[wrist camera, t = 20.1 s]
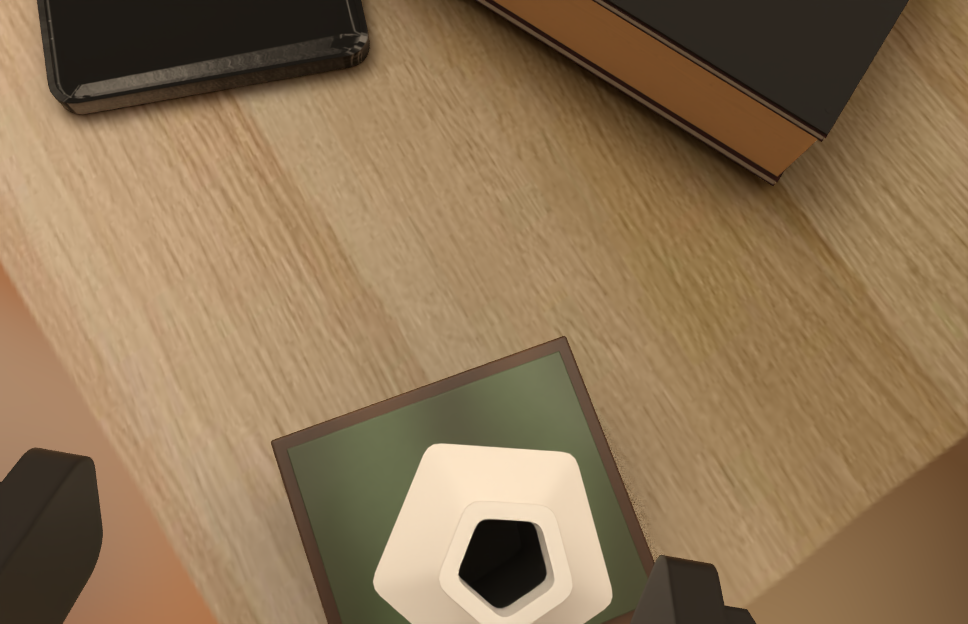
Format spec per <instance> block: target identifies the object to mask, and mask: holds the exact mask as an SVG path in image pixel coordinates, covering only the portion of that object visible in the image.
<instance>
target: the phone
mask: <svg viewBox="0 0 968 624" xmlns="http://www.w3.org/2000/svg"><path fill="white" fill-rule="evenodd" d="M37 4H38V12H39V19H40V27H41V34H42V42H43V50H44V57H45V65H46V72H47V80H48V86H49V89H50V92H51V93H52V95H53V96H54V97H55V98H56V99H57V100H58V101H59V102H60V103H61V104H62V105H63V107H64V108H66V109H67V110H69V111H70V112H73V113H77V114H88V113H94V112H99V111H105V110H111V109H116V108H122V107H128V106H133V105H139V104H144V103H150V102H156V101H161V100H167V99H173V98H178V97H184V96H190V95H195V94H201V93H207V92H212V91H218V90H224V89H229V88H235V87H241V86H246V85H252V84H257V83H263V82H269V81H274V80H280V79H286V78H291V77H297V76H303V75H308V74H314V73H320V72H325V71H331V70H337V69H342V68H348V67H352V66H355V65H358V64H359V63H361V62H362V61H363V60H364V59H365V58H366V56H367V55H368V52H369V49H370V47H369V36H368V30H367V25H366V20H365V16H364V11H363V7H362V2H361V0H37Z"/></svg>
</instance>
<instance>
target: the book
mask: <svg viewBox="0 0 968 624" xmlns="http://www.w3.org/2000/svg"><path fill="white" fill-rule="evenodd" d="M475 1H476V2H478V3H480V4H481V5H483V6H485V7H486V8H488V9H489V10H491V11H493V12H494V13H496V14H497V15H499V16H501V17H502V18H504V19H505V20H507V21H509V22H510V23H512V24H513V25H515V26H517V27H518V28H520V29H521V30H523V31H525V32H526V33H528V34H530V35H531V36H533V37H534V38H536V39H538V40H539V41H541V42H542V43H544V44H546V45H547V46H549V47H550V48H552V49H554V50H555V51H557V52H558V53H560V54H562V55H563V56H565V57H566V58H568V59H570V60H571V61H573V62H574V63H576V64H578V65H579V66H581V67H583V68H584V69H586V70H587V71H589V72H591V73H592V74H594V75H595V76H597V77H599V78H600V79H602V80H603V81H605V82H607V83H608V84H610V85H611V86H613V87H615V88H616V89H618V90H619V91H621V92H623V93H624V94H626V95H628V96H629V97H631V98H632V99H634V100H636V101H637V102H639V103H640V104H642V105H644V106H645V107H647V108H648V109H650V110H652V111H653V112H655V113H656V114H658V115H660V116H661V117H663V118H664V119H666V120H668V121H669V122H671V123H672V124H674V125H676V126H677V127H679V128H681V129H682V130H684V131H685V132H687V133H689V134H690V135H692V136H693V137H695V138H697V139H698V140H700V141H701V142H703V143H705V144H706V145H708V146H709V147H711V148H713V149H714V150H716V151H717V152H719V153H721V154H722V155H724V156H726V157H727V158H729V159H730V160H732V161H734V162H735V163H737V164H738V165H740V166H742V167H743V168H745V169H746V170H748V171H750V172H751V173H753V174H754V175H756V176H758V177H759V178H761V179H762V180H764V181H766V182H767V183H769V184H770V185H772V186H774V184H775V182H778V180H779V179H780V177H781V175H782V174H783V172H784V170H785V169H786V168H787V167H788V166H789V165H791V164H792V163H793V162H794V161H795V160H796V159H797V158H798V157H799V156H800V155H801V154H802V153H803V152H804V151H806V150H807V149H808V148H809V147H810V146H811V145H812V144H813V143H814V142H815V141H816V140H817V139H818V140H820V141H821V142H822V141H823V139H824V138H826V137H827V135H828V133H829V132H830V130H831V129H832V127H833V125H834V124H835V122H836V120H837V119H838V117H839V115H840V114H841V112H842V110H843V109H844V107H845V105H846V104H847V102H848V100H849V99H850V97H851V95H852V94H853V92H854V90H855V89H856V87H857V85H858V84H859V82H860V80H861V79H862V77H863V75H864V74H865V72H866V71H867V69H868V67H869V66H870V64H871V62H872V61H873V59H874V57H875V56H876V54H877V52H878V51H879V49H880V47H881V46H882V44H883V42H884V41H885V39H886V37H887V36H888V34H889V32H890V31H891V29H892V27H893V26H894V24H895V22H896V21H897V19H898V17H899V16H900V14H901V13H902V11H903V9H904V8H905V6H906V4H907V3H908V1H909V0H475Z"/></svg>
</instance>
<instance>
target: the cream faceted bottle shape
mask: <svg viewBox="0 0 968 624" xmlns="http://www.w3.org/2000/svg"><path fill="white" fill-rule="evenodd" d="M373 584H374V588H375V590H376V591H377V593H378V594H379V595H380V596H381V597H382V598H383V599H384V600H385V601H387V602H388V603H389V604H390V605H391V606H392V607H393V608H394V609H396V610H397V611H398V612H399V613H400V614H401V615H402V616H404V617H405V618H406V619H407V620H408V621H409V622H410V623H411V624H584V623H585V622H587V621H588V620H590V619H591V618H593V617H594V616H596V615H597V614H598V613H600V612H601V611H603V610H604V609H605V608H606V607H607V606H608V605H609V604H610V602H611V599H612V597H613V596H612V587H611V584H610V580H609V576H608V573H607V569H606V565H605V562H604V558H603V554H602V551H601V547H600V543H599V540H598V536H597V532H596V528H595V525H594V521H593V517H592V514H591V510H590V506H589V503H588V499H587V495H586V492H585V488H584V484H583V481H582V477H581V473H580V470H579V466H578V464H577V462H576V459H575V458H574V457H573V456H572V455H570V454H569V453H565V452H558V451H544V450H529V449H515V448H500V447H486V446H471V445H457V444H442V443H441V444H433V445H432V446H430V447H429V448H427V450H426V452H425V453H424V455H423V457H422V459H421V462H420V464H419V467H418V469H417V472H416V474H415V476H414V479H413V481H412V484H411V486H410V489H409V491H408V494H407V496H406V498H405V501H404V503H403V506H402V508H401V511H400V513H399V516H398V518H397V520H396V523H395V525H394V528H393V530H392V533H391V535H390V537H389V540H388V542H387V545H386V547H385V550H384V552H383V555H382V557H381V559H380V562H379V564H378V567H377V569H376V572H375V575H374V579H373Z"/></svg>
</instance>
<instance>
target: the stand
mask: <svg viewBox="0 0 968 624" xmlns="http://www.w3.org/2000/svg"><path fill="white" fill-rule="evenodd" d="M441 443H442V444H457V445H471V446H486V447H500V448H515V449H529V450H544V451H558V452H565V453H569V454H570V455H572V456H573V457H574V458H575V459H576V462H577V464H578V466H579V470H580V473H581V477H582V481H583V484H584V488H585V492H586V495H587V499H588V503H589V506H590V510H591V514H592V517H593V521H594V525H595V528H596V532H597V536H598V540H599V543H600V547H601V551H602V554H603V558H604V562H605V565H606V569H607V573H608V576H609V580H610V584H611V587H612V596H613V597H612V599H611V602H610V604H609V605H608V606H607V607H606V608H605V609H604V610H603V611H601V612H600V613H598V614H597V615H596V616H594V617H593V618H591V619H590V620H588V621H587V622H585V623H584V624H630V622H631V619H632V616H633V614H634V612H635V609H636V607H637V604H638V602H639V600H640V597H641V595H642V592H643V590H644V588H645V585H646V583H647V580H648V578H649V576H650V573H651V571H652V568H653V566H654V564H655V562H654V560H653V557H652V555H651V552H650V550H649V547H648V545H647V542H646V539H645V537H644V534H643V532H642V529H641V527H640V524H639V522H638V519H637V516H636V514H635V511H634V509H633V506H632V504H631V501H630V499H629V496H628V494H627V491H626V488H625V486H624V483H623V481H622V478H621V476H620V473H619V471H618V468H617V465H616V463H615V460H614V458H613V455H612V453H611V450H610V448H609V445H608V443H607V440H606V437H605V435H604V432H603V430H602V427H601V425H600V422H599V420H598V417H597V415H596V412H595V409H594V407H593V404H592V402H591V399H590V397H589V394H588V392H587V389H586V386H585V384H584V381H583V379H582V376H581V374H580V371H579V369H578V366H577V364H576V361H575V358H574V356H573V353H572V351H571V348H570V346H569V343H568V341H567V338H566V337H565V336H562V337H559V338H557V339H554V340H551V341H548V342H546V343H543V344H540V345H537V346H534V347H532V348H529V349H526V350H523V351H520V352H518V353H515V354H512V355H509V356H506V357H504V358H501V359H498V360H495V361H492V362H490V363H487V364H484V365H481V366H479V367H476V368H473V369H470V370H467V371H465V372H462V373H459V374H456V375H453V376H451V377H448V378H445V379H442V380H439V381H437V382H434V383H431V384H428V385H425V386H423V387H420V388H417V389H414V390H411V391H409V392H406V393H403V394H400V395H398V396H395V397H392V398H389V399H386V400H384V401H381V402H378V403H375V404H372V405H370V406H367V407H364V408H361V409H358V410H356V411H353V412H350V413H347V414H344V415H342V416H339V417H336V418H333V419H331V420H328V421H325V422H322V423H319V424H317V425H314V426H311V427H308V428H305V429H303V430H300V431H297V432H294V433H291V434H289V435H286V436H283V437H280V438H277V439H275V440H272V441H271V445H272V448H273V451H274V455H275V458H276V461H277V464H278V467H279V470H280V474H281V477H282V480H283V483H284V486H285V489H286V493H287V496H288V499H289V502H290V505H291V508H292V512H293V515H294V518H295V521H296V524H297V527H298V531H299V534H300V537H301V540H302V543H303V546H304V549H305V553H306V556H307V559H308V562H309V565H310V568H311V572H312V575H313V578H314V581H315V584H316V587H317V591H318V594H319V597H320V600H321V603H322V606H323V610H324V613H325V616H326V619H327V622H328V624H411V623H410V622H409V621H408V620H407V619H406V618H405V617H404V616H402V615H401V614H400V613H399V612H398V611H397V610H396V609H394V608H393V607H392V606H391V605H390V604H389V603H388V602H387V601H385V600H384V599H383V598H382V597H381V596H380V595H379V594H378V593H377V591H376V590H375V588H374V584H373V579H374V575H375V572H376V569H377V567H378V564H379V562H380V559H381V557H382V555H383V552H384V550H385V547H386V545H387V542H388V540H389V537H390V535H391V533H392V530H393V528H394V525H395V523H396V520H397V518H398V516H399V513H400V511H401V508H402V506H403V503H404V501H405V498H406V496H407V494H408V491H409V489H410V486H411V484H412V481H413V479H414V476H415V474H416V472H417V469H418V467H419V464H420V462H421V459H422V457H423V455H424V453H425V452H426V450H427V448H429V447H430V446H432V445H433V444H441Z"/></svg>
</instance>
